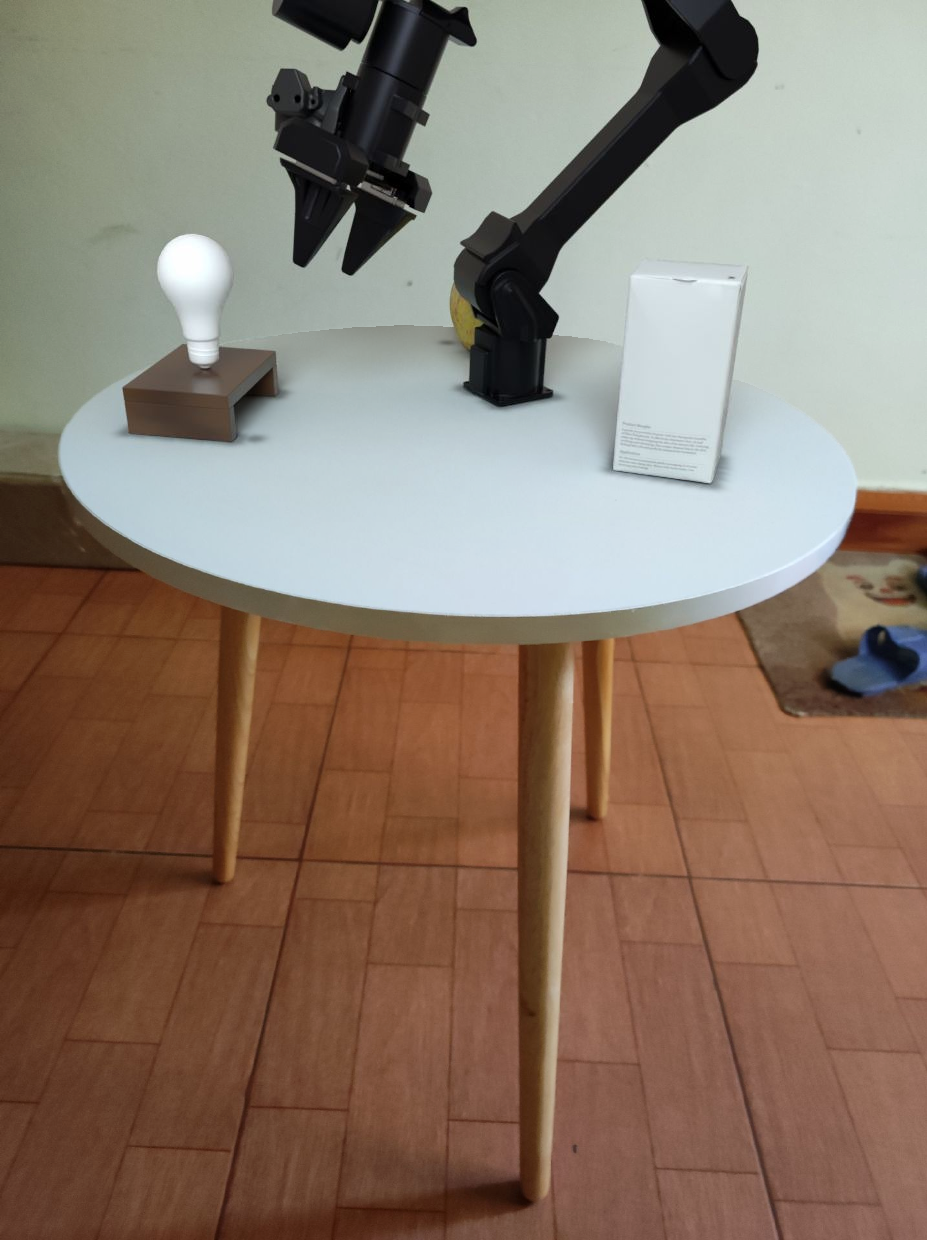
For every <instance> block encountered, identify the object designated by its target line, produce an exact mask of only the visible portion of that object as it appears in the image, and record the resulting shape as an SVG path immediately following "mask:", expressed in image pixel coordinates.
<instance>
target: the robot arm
mask: <svg viewBox="0 0 927 1240" xmlns="http://www.w3.org/2000/svg"><path fill="white" fill-rule="evenodd" d="M640 1H641V5H642V7H643V11H644V15H645V17H646V21H647V23H648V27H649V30H650V32H651V34H652V35H653V37H654V39H655V40H656V42H657V44H658V45H659V46H658V48H657V49H656V51H655V52H654V54H653V55H652V56H651V58H650V60H649V63H648V66H647V68H646V71H645V73H644V76H643V79H642V81H641V83H640V86H639V88H638V89H637V90H636V92H635V93H634V94H633V96H632V97H630V98H629V100H627V102H626V103H625V104H624V105H622V107H621V108H620V109H619V110H618V111H617V112H616V113H615V114H614V116H612V117H611V119H610V120H608V122H607V123H606V124H605V125H604V126H603V127H602V128H601V129H600V130H599V131H598V132H597V133H596V134H595V135H594V136H593V138H592V139H590V141H589V142H588V143H587V144H586V145H585V146H584V147H583V148H582V149H581V150H580V151H579V152H578V153H577V155H576V156H575V157H574V158H573V159H571V161H569V163H568V164H567V165H566V166H565V167H564V168H563V169H562V170H561V171H560V172H559V173H558V174H557V175H556V176H555V178H553V180H552V181H550V183H549V184H548V185H547V186H546V187H545V188H544V189H543V190H542V191H541V192H540V193H539V194H538V196H537V197H536V198H535V199H533V201H532V202H531V203H530V204H529V205H528V206H527V207H526V208H525V209H523V210H522V211H521V212H519V213H518V214H515V215H514V216H512V217H511V216H510V217H507V216H505V215H502V214H501V213H498V212H497V211H494V210H492V211H490V213H488V214H487V216H486V217H484V219H483V220H482V222H481V223H480V225H479V227H478V228H477V229H476V230H475V231H474V232H473V233H472V234H471V235H470V236H469V237H467V238H464V239H462V240H461V241H460V242H459V244H460V246H462V247H464V248H463V249H462V250H461V251H460V253H459V254H458V255H457V257H456V258H455V261H454V263H453V283H455V287H456V289H457V291H458V293H459V294H460V296H461V297H462V298H464V299H465V300H466V301H467V302H469V304H470V307H471V310H472V313H473V316H474V317H475V318H476V319H479V320H480V321H481V322H483V324H482V325H481V326H479V327H475V330H474V344H473V345H471V347H470V350H469V368H468V380H465V381H463V385H462V387H463V388H464V389H466V390H467V391H469V392H471V393H472V394H473V393H474V394H475V395H477V396H479V397H481V398H483V399H485V400H486V401H488V402H490V403H492V404H494V405H496V406H501V407H502V406H506V405H507V406H508V405H513V404H518V403H524V402H530V401H533V400H539V399H544V398H550V397H554V390H553V389H551V388H549V387H547V386H545V373H546V372H545V371H546V359H547V346H548V345H547V344H548V340H549V339H552V337H553V335H554V333H555V330H556V329H557V328H556V327H557V325H558V323H559V320H560V315H559V314H558V312H556V310H555V309H554V308H553V307H552V306H551V305H550V304H549V302H548V301H547V300H546V299H545V298H544V297H543V296H542V295H541V294H540V293H541V292H542V290H543V289H544V287H545V286H546V284H547V283H548V281H549V280H550V277H551V275H552V272H553V270H554V268H555V264H556V262H557V259H558V258H559V254H560V252H561V250H562V249H563V248H564V246H565V245H566V244H567V243H568V241H570V240H571V239H572V238H573V237H574V235H575V234H576V233H577V232H578V231H579V230H580V229H581V228H582V227H583V226H584V225H585V224H586V223H587V222H588V221H589V220H590V219H591V218H592V217H593V216H594V215H595V214H596V213H597V212H598V211H599V209H601V207H602V206H604V204H605V203H606V202H607V201H608V200H609V199H611V197H612V196H613V195H614V194H615V193H616V192H617V191H618V190H619V189H620V188H621V187H622V186H623V185H624V184H625V183H626V182H627V181H628V179H629V178H630V177H631V176H632V175H633V174H634V173H635V172H637V171H638V169H639V168H640V167H641V166H642V165H643V164H644V163H645V162H646V161H647V160H648V159H649V158H650V157H651V156H652V154H653V153H654V152H656V151H657V149H659V147H660V146H661V145H662V144H663V143H664V142H665V141H666V140H667V139H668V138H669V137H670V136H671V135H672V134H673V133H674V131H676V130H677V129H678V128H680V127H681V126H683V125H684V124H687V123H688V122H690V121H692V120H694V119H696V118H698V117H700V116H702V115H704V114H706V113H707V112H709V111H712V110H713V109H715V108H717V107H719V105H721V104H722V103H723V102H725V101H726V100H727V99H729V98H730V97H731V96H734V94H736V93H737V92H738V91H740V90H741V89H742V88H743V87H745V86H746V85H747V84H748V83H749V81H751V79H752V77H753V76H754V74H755V73H756V70H757V69H758V66H759V62H758V60H759V59H758V58H759V53H760V45H759V36H758V33H757V30H756V28H755V26H754V25H753V24H752V23H751V22H750V20H749V19H747V18H745V17H744V16H742V15H741V14H740V13H739V11H738V10H737V7H736V6H735V4H734V2H733V1H732V0H640ZM379 2H381V4H380V7H379V10H378V13H377V16H376V18H375V15H376V12H377V8H378V5H379ZM271 15H272V16H273V17H274V18H276V19H279V20H281V21H282V22H284V23H286V24H288V25H289V26H292V27H294V28H295V29H297V30H299V31H301V32H303V33H305V34H307V35H309V36H311V37H312V38H314V39H317V40H318V41H319V42H322V43H324V44H326V45H328V46H329V47H332V48H333V49H335V50H337V51H339V52H343V51H344V50H345V49H346V48H347V47H349V44H350V43H351V42H352V43H354V44H356V45H357V46H359V45H361V44H362V43H363V42H364V40H365V39H366V37H367V35H368V34H369V32H370V29H371V28H372V30H371V33H370V35H369V38H368V41H367V44H366V46H365V49H364V52H363V55H362V58H361V61H360V63H359V66H358V69H357V72H356V74H354V73H351V72H349V71H348V70H346V71H345V74H342V75H341V76H340V78H339V81H338V84H337V87H336V89H325V88H324V89H323V88H321V87H320V86H316V85H315V86H311V82H310V80H309V78H308V75H307V74H306V73H304V72H303V71H301V70H299V69H297V68H284V67H282V68H281V67H280V69H279V71H278V73H277V75H276V78H275V80H274V81H273V84H272V85H271V90H270V94H268V96H267V97H266V105H267V106H268V107H269V108H271V109H272V111H273V112H274V132H276V133H277V134H276V137H275V141H274V143H273V145H272V149H273V150H274V151H277V152H278V153H280V154H282V155H285V156H287V157H288V158H291V159H292V160H295V162H294V161H291V160H289V159H286V158H283V157H279V164H280V166H281V167H282V168H284V169H285V171H286V173H287V176H288V177H289V179H290V181H291V184H292V186H293V189H294V225H293V244H292V245H293V246H292V263H293V264H294V265H296V266H298V267H300V268H303V269H304V268H305V269H306V268H307V267H308V265H309V264H310V263H311V262H312V260H313V259H314V258H315V257H316V256H317V254H318V253H319V252H320V250H321V249H322V247H323V246H324V244H325V243H326V242H327V241H328V239H329V238H330V236H331V235H332V233H333V232H334V231H335V229H336V228H337V226H338V225H339V224H340V223H341V221H342V219H343V218H345V216H346V214H347V213H348V211H349V210H350V209H351V207H352V206H353V204H354V208H355V210H354V213H353V219H352V223H351V225H350V230H349V232H348V233H349V234H348V238H347V242H346V245H345V249H344V253H343V259H342V262H341V268H340V270H341V272H342V273H343V274H345V275H347V276H350V277H352V276H354V275H355V274H356V273H358V271H359V270H361V268H362V267H363V266H364V265H365V264H366V263H368V262H369V260H370V259H372V257H373V256H375V254H377V252H378V251H380V249H381V248H383V247H384V246H385V245H386V244H387V243H388V242H389V241H390V240H391V239H392V238H393V237H394V236H396V235H397V234H398V233H399V232H400V231H401V230H402V229H404V228H405V226H406V225H408V224H409V223H410V222H412V221H415V220H416V218H417V217H418V215H417V214H416V213H413V212H411V211H409V210H408V209H405V206H406V205H407V206H408V208H410V209H412V210H414V211H417V212H419V213H422V214H425V213H426V211H427V208H428V207H429V204H430V201H431V199H432V196H433V191H432V187H431V184H430V181H429V178H427V177H425V176H424V175H421V174H420V173H417V172H415V171H413V170H410V167H411V164H410V163H407V162H405V161H404V158H405V155H406V153H407V150H408V147H409V145H410V142H411V140H412V137H413V134H414V132H415V129H416V126H417V124H418V125H421V126H422V127H424V128H425V127H426V126H427V123H428V121H429V118H430V113H429V112H427V111H426V110H424V106H425V103H426V101H427V99H428V95H429V92H430V89H431V87H432V85H433V82H434V80H435V77H436V75H437V72H438V69H439V66H440V64H441V61H442V59H443V56H444V54H445V51H446V48H447V45H448V43H449V41H450V42H451V43H453V44H455V45H456V46H462V47H468V48H474V47H476V45H477V43H478V39H477V36H476V34H475V31H474V28H473V25H472V24H471V21H470V16H469V15H470V14H469V8H468V7H467V6H455V7H454V8H452V9H450V10H449V9H447V8H445V7H444V6H442V5H440V4H438V3H437V2H435V1H433V0H409V1H407V0H272V6H271ZM374 19H375V21H374ZM373 22H374V24H373ZM372 24H373V27H371V26H372ZM360 184H361V185H360ZM348 187H349V189H348Z"/></svg>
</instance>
